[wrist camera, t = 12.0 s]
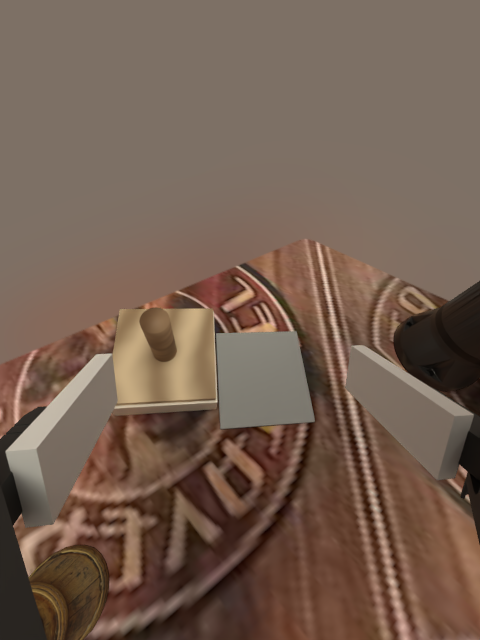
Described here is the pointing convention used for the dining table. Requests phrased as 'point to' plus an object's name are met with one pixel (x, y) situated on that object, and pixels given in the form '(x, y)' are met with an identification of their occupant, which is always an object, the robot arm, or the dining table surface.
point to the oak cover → (164, 356)
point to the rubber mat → (261, 380)
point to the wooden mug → (70, 592)
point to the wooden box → (168, 404)
